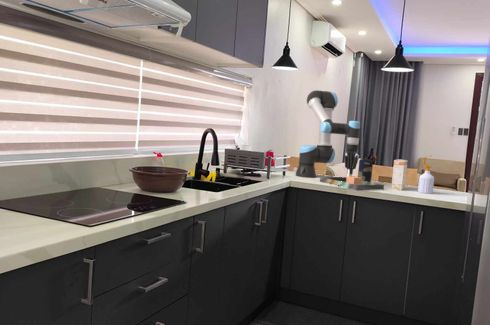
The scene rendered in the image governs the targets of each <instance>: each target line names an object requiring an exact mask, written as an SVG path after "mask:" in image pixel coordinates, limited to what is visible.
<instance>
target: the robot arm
mask: <svg viewBox="0 0 490 325" xmlns="http://www.w3.org/2000/svg"><path fill="white" fill-rule="evenodd" d="M338 102H339V100H338V96H337V94H336V93H335V92H333V91H327V90H313V91H311V92H309V93H308V95H307V97H306V104H307V106H308V108H309V109H310V110H312V112H313V113H314V115H315V116H316V118H317V120H318V121H319V132H318V135H319V136H318V143H317V144H316V145H315V144H305V145H301V146H300V149H299V156H298V157H299V158H298V166H297V168H296V171H295V176H297V177H300V178H301V177H302V178H316V177H317V174H316V169H315V168H316V167H315V163H319V164H330V163H332V162H333V161H334V159H335V157H336V150H335V149H334V148H333V144H331V138H332V137H331V135H332V134H334V135H346V136H347V137H346V138H347V140H346V152H345V153H343V158H344V168H345V169H346V170H347V171H346V174H347V175H346V177H347V176H353V174H354V173H353V172H354V170H356V168H357V165H358V163H359V160H360V157H361V156H360V155H359V154H358V150H359V142H360V133H361V121H357V120H349V121H348V123H344V122H334V121H333V120H332V118H333V116H332V115H333V111H334V110H335V108H336V107H337V105H338Z"/></svg>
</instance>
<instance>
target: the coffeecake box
mask: <svg viewBox="0 0 490 325" xmlns="http://www.w3.org/2000/svg"><path fill="white" fill-rule="evenodd" d="M408 161H409V160H407V159H399V158H398V159H394V160H393V169H392V177H391V178H392V179H391V185H390V186H391V188H390V190H394V189H396V190H397V191H403V190H404V189H405V188H406V179H407V170H408ZM396 190H395V191H396Z"/></svg>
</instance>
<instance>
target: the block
mask: <svg viewBox="0 0 490 325" xmlns="http://www.w3.org/2000/svg"><path fill="white" fill-rule="evenodd" d="M346 177H347V180H346V183H350V184H355V185H361V184H362V178H360V177H358V176H353V175H352V176H347V175H346Z"/></svg>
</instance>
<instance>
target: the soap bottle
mask: <svg viewBox="0 0 490 325" xmlns="http://www.w3.org/2000/svg"><path fill="white" fill-rule="evenodd" d="M429 157H431V155H427V156H424V157H423V167H425V168H426V169H424V173H422V174H421V175H419V178H418V179H419V180H418V184H417V185H418V186H417V192H418V193H421V194H428V195H431V194H433V193H434V185H435V176H433V175H432V174H431V170H430V168H431V167H433V165H427V164H426V159H427V158H429Z"/></svg>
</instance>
